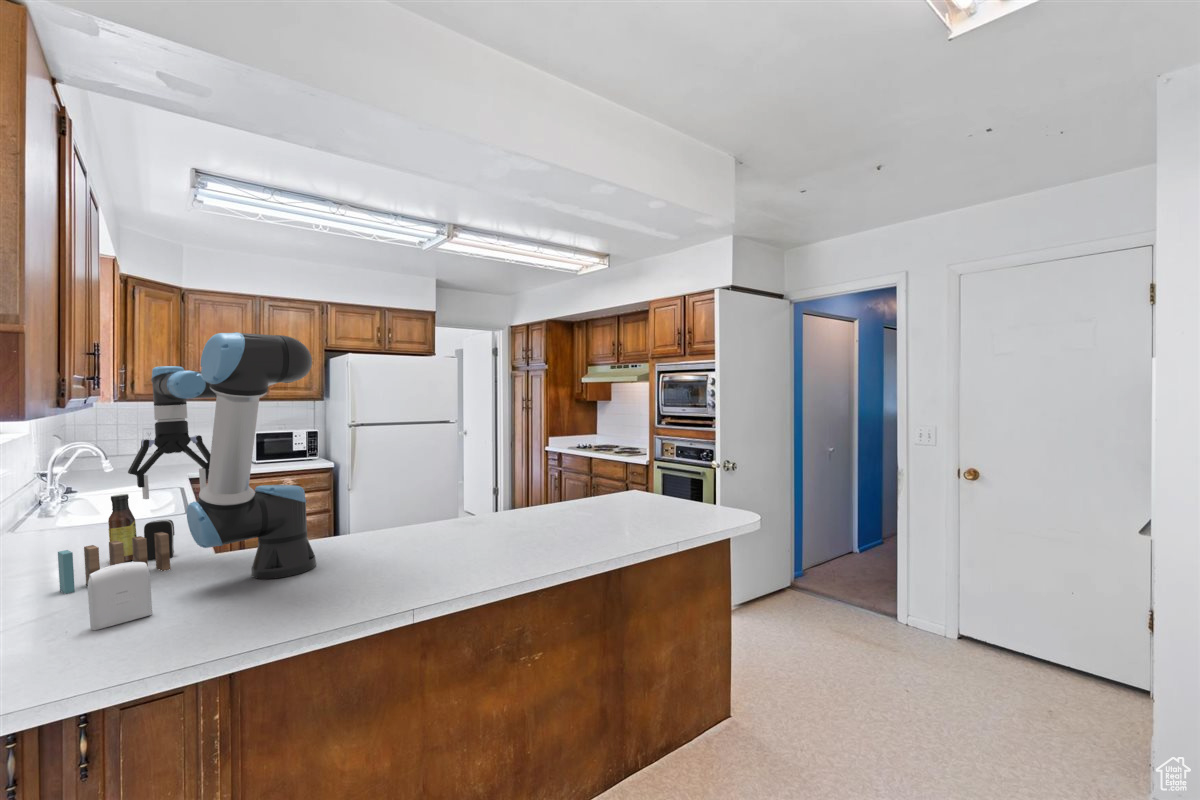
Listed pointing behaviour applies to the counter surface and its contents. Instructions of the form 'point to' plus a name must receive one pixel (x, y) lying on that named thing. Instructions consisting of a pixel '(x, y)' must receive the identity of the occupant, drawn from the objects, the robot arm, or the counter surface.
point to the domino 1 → (66, 571)
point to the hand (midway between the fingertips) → (175, 494)
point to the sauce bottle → (122, 524)
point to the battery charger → (157, 527)
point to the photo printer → (119, 594)
